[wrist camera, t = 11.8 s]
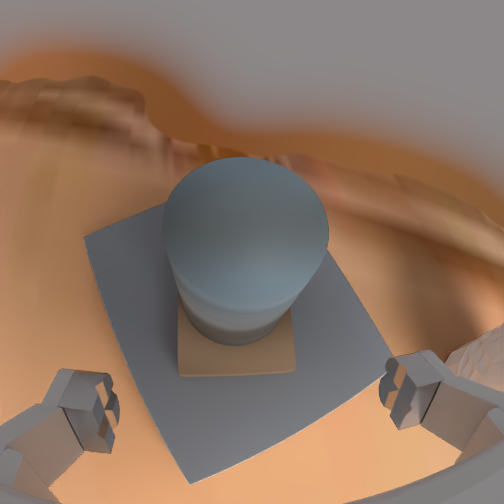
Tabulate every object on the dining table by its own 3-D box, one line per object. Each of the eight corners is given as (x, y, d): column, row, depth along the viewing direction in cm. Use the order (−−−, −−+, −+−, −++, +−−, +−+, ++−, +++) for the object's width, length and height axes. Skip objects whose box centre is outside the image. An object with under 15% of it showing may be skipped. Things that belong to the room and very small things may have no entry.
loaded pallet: (288, 372, 14) (355, 342, 8) (181, 376, 14) (147, 351, 7) (276, 241, 18) (313, 135, 11) (183, 241, 17) (167, 131, 10)
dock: (97, 259, 19) (81, 236, 16) (263, 191, 23) (269, 163, 20) (193, 473, 14) (188, 487, 11) (375, 371, 18) (399, 364, 15)
